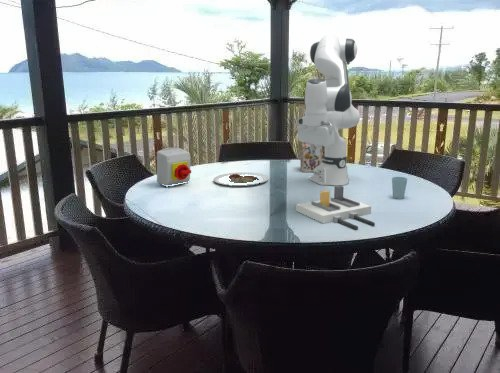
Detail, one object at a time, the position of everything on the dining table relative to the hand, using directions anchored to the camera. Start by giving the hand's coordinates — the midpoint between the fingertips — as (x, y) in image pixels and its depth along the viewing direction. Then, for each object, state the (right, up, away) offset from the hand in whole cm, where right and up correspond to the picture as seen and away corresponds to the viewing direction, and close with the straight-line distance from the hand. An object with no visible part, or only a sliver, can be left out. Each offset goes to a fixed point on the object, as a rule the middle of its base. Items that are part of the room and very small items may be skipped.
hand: (315, 154), depth 171 cm
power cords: (+13, -27, -13) cm, 32 cm away
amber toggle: (+4, -21, -1) cm, 21 cm away
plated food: (-31, -10, +58) cm, 67 cm away
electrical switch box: (-66, -12, +53) cm, 85 cm away
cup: (+41, -18, +20) cm, 49 cm away
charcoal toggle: (+11, -19, +6) cm, 23 cm away
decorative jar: (+10, -3, +81) cm, 82 cm away
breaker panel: (+7, -23, +1) cm, 25 cm away
